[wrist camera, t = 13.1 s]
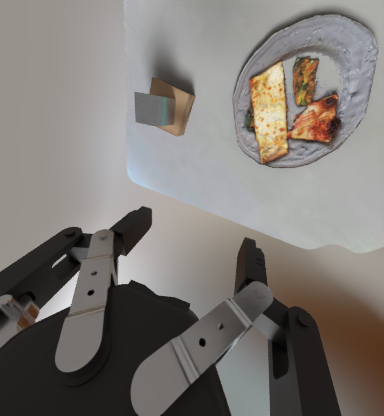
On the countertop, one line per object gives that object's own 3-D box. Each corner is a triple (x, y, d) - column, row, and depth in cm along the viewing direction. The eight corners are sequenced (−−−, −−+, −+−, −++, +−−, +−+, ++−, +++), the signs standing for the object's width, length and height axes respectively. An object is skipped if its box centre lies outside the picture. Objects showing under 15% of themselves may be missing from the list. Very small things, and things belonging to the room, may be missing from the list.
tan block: (162, 81, 38) (152, 77, 34) (195, 96, 38) (189, 94, 34) (155, 120, 43) (145, 121, 39) (183, 134, 43) (176, 136, 39)
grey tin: (155, 95, 36) (134, 91, 29) (176, 99, 35) (158, 95, 28) (155, 120, 38) (135, 122, 32) (174, 124, 38) (158, 126, 31)
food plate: (352, 157, 34) (361, 160, 31) (241, 172, 43) (240, 176, 40) (382, -9, 24) (400, -27, 21) (228, 57, 33) (226, 51, 30)
